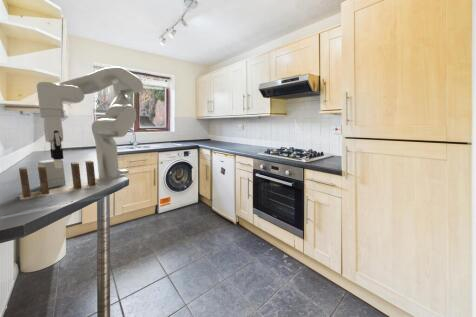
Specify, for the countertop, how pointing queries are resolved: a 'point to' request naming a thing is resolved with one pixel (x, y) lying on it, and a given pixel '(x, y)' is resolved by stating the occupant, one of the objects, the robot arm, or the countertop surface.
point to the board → (56, 191)
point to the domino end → (24, 182)
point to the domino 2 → (57, 161)
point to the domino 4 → (90, 173)
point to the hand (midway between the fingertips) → (57, 158)
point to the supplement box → (53, 173)
